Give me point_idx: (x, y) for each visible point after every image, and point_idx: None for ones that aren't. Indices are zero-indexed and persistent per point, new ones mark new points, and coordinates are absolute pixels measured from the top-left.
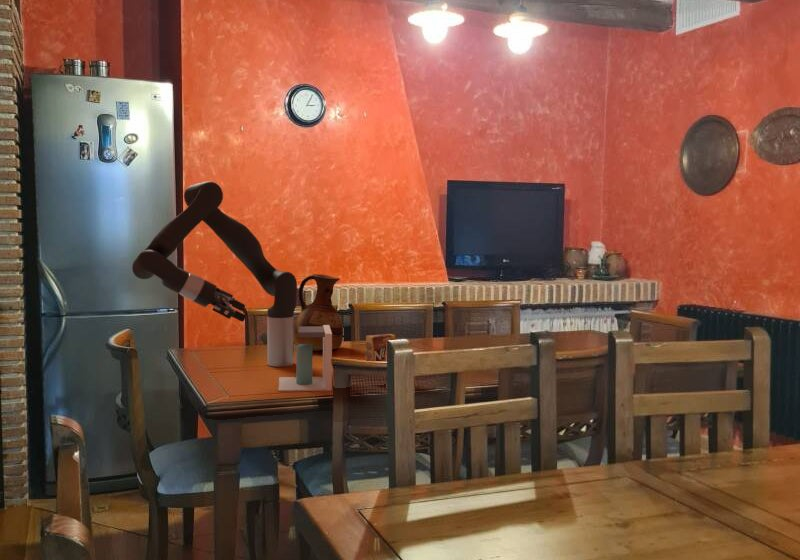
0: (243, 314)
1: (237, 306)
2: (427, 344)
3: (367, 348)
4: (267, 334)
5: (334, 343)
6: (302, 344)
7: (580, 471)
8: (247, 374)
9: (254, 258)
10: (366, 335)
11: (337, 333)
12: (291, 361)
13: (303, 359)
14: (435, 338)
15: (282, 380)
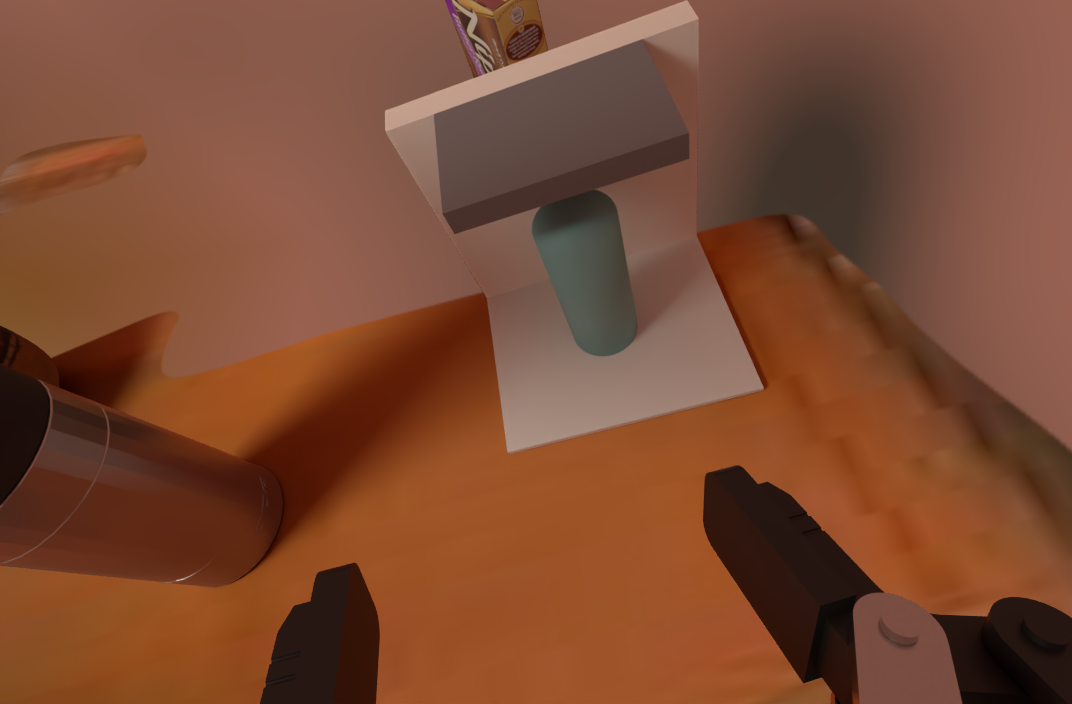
0: (751, 489)
1: (362, 695)
2: (70, 174)
3: (519, 56)
4: (78, 568)
5: (46, 356)
6: (545, 237)
7: None
8: (424, 639)
9: None
10: (492, 10)
11: (2, 329)
12: (252, 463)
13: (625, 256)
14: (6, 178)
15: (568, 422)
